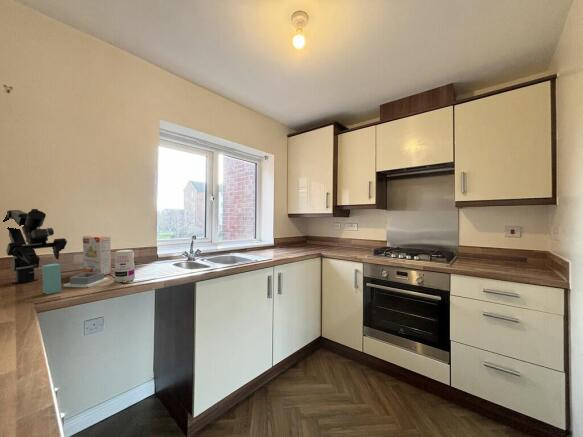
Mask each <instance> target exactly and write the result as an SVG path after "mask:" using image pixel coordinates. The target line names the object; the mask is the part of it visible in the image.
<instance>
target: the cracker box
mask: <svg viewBox="0 0 583 437" xmlns="http://www.w3.org/2000/svg"><path fill="white" fill-rule="evenodd" d="M82 247H83V248H82V249H83V250H82V251H83V253H82V254H83V273H86V272H91V273H104V276H107V275H110V274H112V261H111V260H112V259H111V258H112V255H111V254H112V253H111V251H112V250H111V236H108V235H107V236H106V235H95V234H91V235H90V234H89V235H83V236H82Z"/></svg>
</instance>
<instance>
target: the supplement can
mask: <svg viewBox="0 0 583 437" xmlns="http://www.w3.org/2000/svg"><path fill="white" fill-rule="evenodd" d="M113 256H114V258H113V260H114V281H115V282H116V283H118V282H123V283H126V282H125V281H129V282H131V280H132V281H134V280H135V273H136V272H135V252H134V251H133V249H121V250H116V251H115V253H114V255H113Z"/></svg>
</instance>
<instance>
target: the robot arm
mask: <svg viewBox="0 0 583 437" xmlns="http://www.w3.org/2000/svg"><path fill="white" fill-rule="evenodd" d="M6 213H7V215H6V217H5V219H4V220H3V222H5V221H7V220H9V219H14V220H15V222H16V223H17V224H18V225H19V226H21V225H24V226H23V227H22V231H21V230H20V229H16V228H15V229H14V228H9V227H8V228H7V229H8V230H9V235H8V237H10V238H9V239H10V240H9V241H10V242H9V243H8V244H7V247H6V250H5V251H6V255H7V256H8V257H10V256H12V257H13V258H12V260H11V263H10V270H11V271H12V272H15V281H12V282H11V283H12V284H26V283H30V282H31V283H32V282H34V281H38V280H39V279H38V278H36V276H35V275H36V274H35V269H39V267H40V261H41V260H40V259H41V258H40V257H39V255H37V253H36V251H35V250H37V249H46V248H51V249H52V252H53V255H54V258H55V259H56V260H59V259H60V252H61V251H62V250H65V247H67V246H66V245H67V243H68V241H67V238H64V237H63V238H62V237H61V238H54V240H53V242H49V241H48V240H49V238H48V237H51V236H54V234H55V231H54V229H53V227H47V228H41V227H43V225H44V222H45V219H46V216H47V215H46V213H45V212H43V211H42V210H38V208H32V209H30V211H29V212H25V211H23V210H20V209H9V210H7V211H6ZM22 232H23V233H22ZM23 234H24V235H23ZM47 241H48V242H47Z"/></svg>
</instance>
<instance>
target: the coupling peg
mask: <svg viewBox="0 0 583 437" xmlns="http://www.w3.org/2000/svg"><path fill="white" fill-rule="evenodd" d="M41 269H42V270H41V273H42V294H43V293H46V294H51V293H55V292H60V291H61V292H62V276H61V275H62V273H61V271H62V270H61V264H60V263H50V264H42V265H41ZM61 292H60V293H61ZM46 294H45V295H46ZM55 294H56V293H55ZM51 295H52V294H51Z"/></svg>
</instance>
